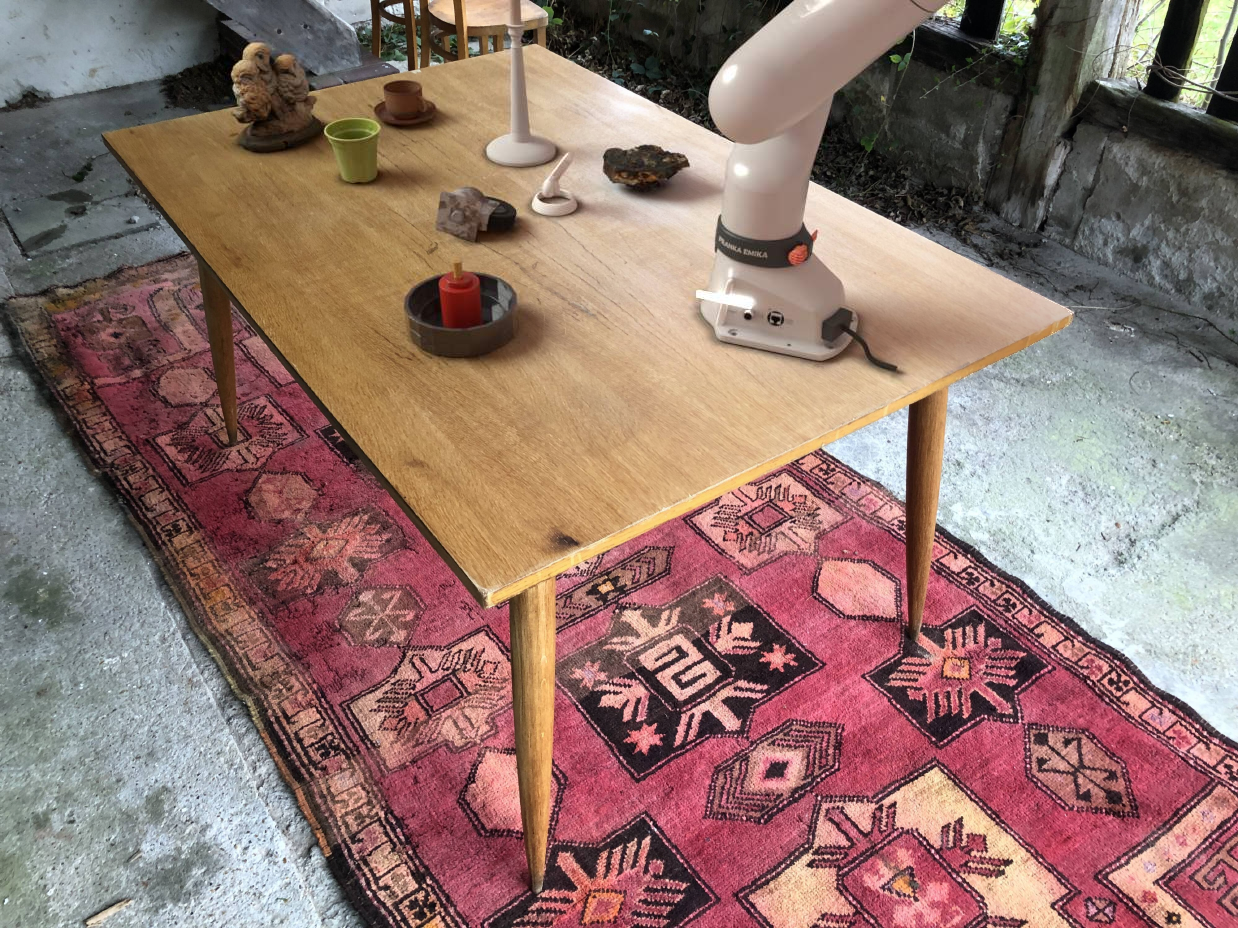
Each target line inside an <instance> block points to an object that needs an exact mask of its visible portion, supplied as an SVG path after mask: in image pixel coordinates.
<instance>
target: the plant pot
mask: <svg viewBox="0 0 1238 928" xmlns="http://www.w3.org/2000/svg"><path fill="white" fill-rule="evenodd" d="M381 129H382V128H381V124H380V123H378V122H377V121H375V120H373V119H370V118H365V117H349V118H342V119H338V120H334V121H333V122H330V123H329V124H327V125H326V126H325V127H324V129H323V133H324V135H325V136H326V137H327V139H328V141H329V143H330V144H331V146H332V150H333V153H334V157H335V160H336V163H337V166H338V169H339V173H340V176H341V178H342V180H343V181H345V182H347V183H351V184H356V183H363V184H364V183H369V182H371V181H373V180H375V179H376V178H377V176H378V140H379V134H380V133H381Z"/></svg>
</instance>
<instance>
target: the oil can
mask: <svg viewBox="0 0 1238 928" xmlns="http://www.w3.org/2000/svg"><path fill="white" fill-rule="evenodd" d="M452 269H453V270H452V271H449V272H447V273H448V274H447V275H445V276H443V277H442V278H441V279H440V281H439V289H440V298H441V307H442V316H443V325H444V328H450V329H458V328H471V327H476V326H480V325H483V320H482V308H481V295H480V283H479V279H478V277H477V276H475V275H473V274H471V273H469V272H470V271H467V270H463V261H462V259H461V258H454V259H452Z"/></svg>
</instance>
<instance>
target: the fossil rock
mask: <svg viewBox="0 0 1238 928" xmlns="http://www.w3.org/2000/svg"><path fill="white" fill-rule="evenodd" d="M602 160H603V164H602V173H603V174H604V175H605V176H606V177H607V179H609V181H610V182H611V183H612V184H619V185H620V184H621V185H625V186H626V187H627V188H629V189H631V190H635V191H639V192H644V193H651V192H652V191H654V190H655V189H656V188H661V187H662V183H661V182H660V180H666V181H669V180H671V179H672V178H674V177H675V176H676V175H678V173H679V171H683V169H684V168H690V167H691V164H690V162H689V159H688V158H687V157H686V155H685V154H684V153H680V152H671V151H669V150H664V148H662V146H658V145H656V144H641V145H638V146H634V147H632V148H629V149H623V148H621V147H610V148H607V149H606V150H605V151H604V152H603V155H602Z"/></svg>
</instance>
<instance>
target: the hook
mask: <svg viewBox="0 0 1238 928" xmlns="http://www.w3.org/2000/svg"><path fill="white" fill-rule="evenodd" d="M574 160H575V159H574V156H573V154H572V153H571V152H569V151H568V152H566V153H565V154H564V156H563V157H562V158H561V160H560V161H559V162H558V163H557V165H556V166H555V167H554V169H553V170H552V171H551V172H550V174H549V175H548V177H546V179H545V180H544V181H543V183H542V185H540V188H539V191H538V192H537V193H536V194H535V196H534V197H533V199H532V203H531V208H532V209H533V211H535V212H536V213H538V214H540V215H543V216H548V217H549V216H550V217H558V216H559V217H560V216H565V215H568V214H571V213H573V212H574V211H575V210H577V208H578V204H577V200H576V198H575V196H574V194H573V193H572V192H570V191H569V190H567V189H564V188H563V189H562V188H561V185H560V182H559V180H560V179H561V177H562V176H563V175H564V174H565V173H566V171H567V170H568V169H569V167H570V166H571V165H572V163H573V161H574ZM552 197H560V198H565V199H568V201H566V202H563V203H557V204H556V203H553V204H551V203H546V202H543V201H541V200H540V199H543V198H549V199H550V198H552Z"/></svg>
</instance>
